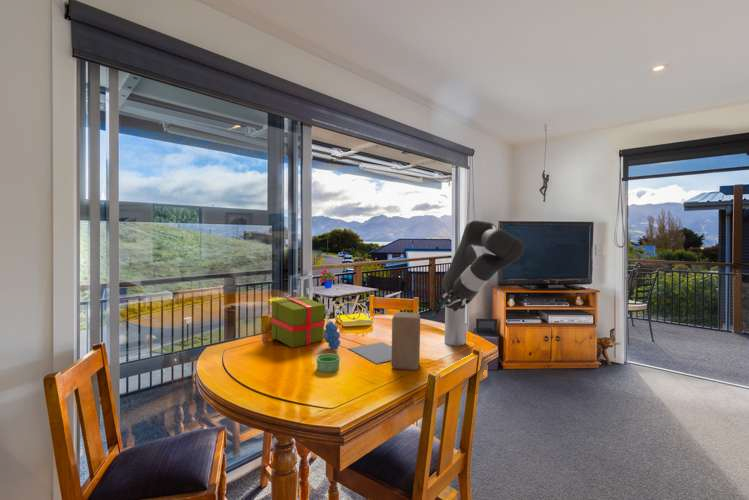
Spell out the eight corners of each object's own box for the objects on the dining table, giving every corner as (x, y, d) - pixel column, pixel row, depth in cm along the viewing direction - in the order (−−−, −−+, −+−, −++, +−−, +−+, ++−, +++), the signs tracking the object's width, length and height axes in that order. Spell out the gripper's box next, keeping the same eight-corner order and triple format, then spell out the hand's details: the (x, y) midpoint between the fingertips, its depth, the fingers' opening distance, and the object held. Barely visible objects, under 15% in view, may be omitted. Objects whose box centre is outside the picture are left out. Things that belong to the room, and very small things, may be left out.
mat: (382, 342, 173) (382, 342, 173) (412, 356, 154) (412, 355, 154) (348, 349, 163) (348, 348, 163) (376, 364, 144) (376, 363, 144)
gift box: (323, 348, 174) (293, 333, 192) (331, 304, 175) (302, 294, 192) (285, 349, 159) (257, 333, 177) (295, 302, 160) (266, 291, 178)
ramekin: (320, 374, 133) (320, 362, 133) (312, 366, 141) (312, 355, 141) (343, 370, 138) (343, 359, 137) (334, 363, 146) (334, 352, 145)
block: (417, 371, 138) (418, 318, 137) (391, 369, 140) (391, 316, 139) (419, 362, 147) (420, 312, 147) (394, 360, 149) (395, 311, 149)
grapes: (317, 347, 165) (317, 320, 164) (330, 344, 169) (330, 318, 168) (329, 354, 155) (330, 326, 155) (343, 351, 159) (344, 324, 159)
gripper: (480, 270, 121) (453, 299, 132) (449, 272, 114) (423, 303, 124) (493, 289, 117) (464, 317, 127) (461, 292, 109) (434, 322, 119)
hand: (444, 310), depth 125 cm, fingers open, 8 cm apart
